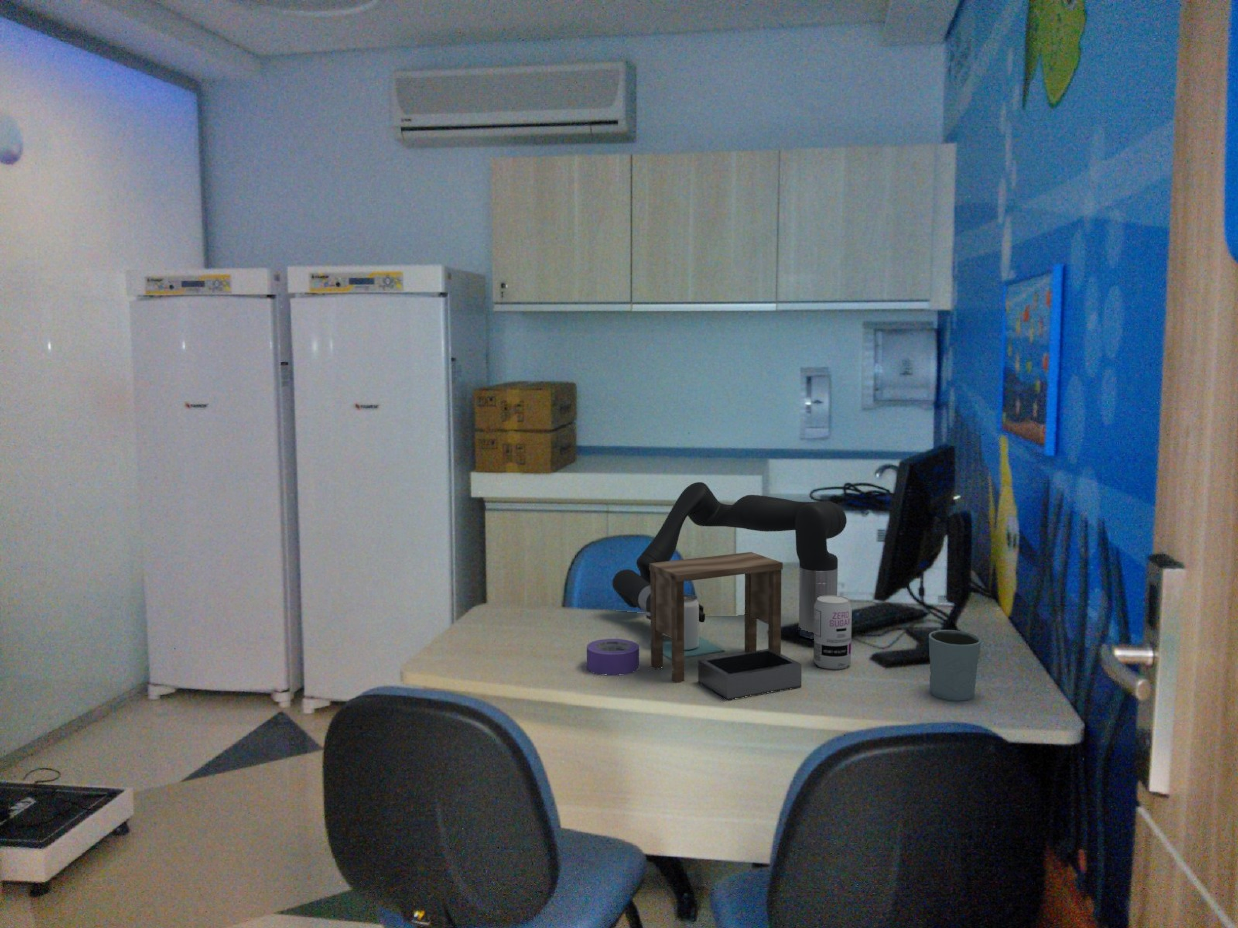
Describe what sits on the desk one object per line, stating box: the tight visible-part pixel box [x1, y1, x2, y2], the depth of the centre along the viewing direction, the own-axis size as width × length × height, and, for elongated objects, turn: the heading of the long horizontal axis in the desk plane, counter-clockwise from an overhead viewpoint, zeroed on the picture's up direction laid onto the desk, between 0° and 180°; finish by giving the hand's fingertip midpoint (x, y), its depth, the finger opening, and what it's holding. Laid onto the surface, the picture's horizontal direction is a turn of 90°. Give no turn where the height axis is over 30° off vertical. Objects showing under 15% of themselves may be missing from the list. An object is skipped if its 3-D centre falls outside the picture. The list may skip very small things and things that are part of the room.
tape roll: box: [586, 638, 640, 676], centre depth 220 cm, size 12×12×5 cm
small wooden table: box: [649, 551, 784, 684], centre depth 218 cm, size 13×26×24 cm, turn 115°
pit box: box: [697, 648, 803, 701], centre depth 207 cm, size 12×18×5 cm, turn 115°
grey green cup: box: [928, 629, 982, 702], centre depth 200 cm, size 10×10×12 cm
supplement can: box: [813, 595, 853, 670], centre depth 219 cm, size 8×8×15 cm
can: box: [684, 593, 700, 650], centre depth 231 cm, size 6×6×12 cm
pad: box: [647, 636, 725, 661], centre depth 232 cm, size 12×14×1 cm
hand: (690, 619), depth 229 cm, fingers closed on can, 6 cm apart
